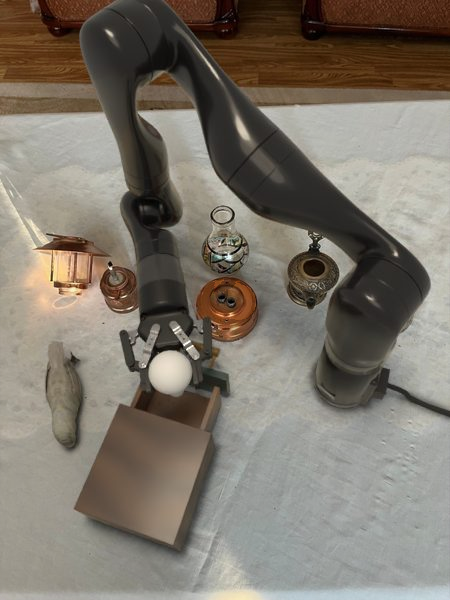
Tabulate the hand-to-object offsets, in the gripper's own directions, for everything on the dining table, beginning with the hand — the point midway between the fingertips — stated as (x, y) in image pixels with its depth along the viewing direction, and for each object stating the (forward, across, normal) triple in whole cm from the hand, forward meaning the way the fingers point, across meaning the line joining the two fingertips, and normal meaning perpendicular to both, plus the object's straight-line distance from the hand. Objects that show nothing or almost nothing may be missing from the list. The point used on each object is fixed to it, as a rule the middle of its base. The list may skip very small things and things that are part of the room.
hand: (173, 391), depth 74 cm
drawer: (-2, 0, +14) cm, 14 cm away
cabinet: (+9, -6, +14) cm, 18 cm away
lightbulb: (-2, 0, +7) cm, 7 cm away
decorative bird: (-7, -19, +15) cm, 25 cm away
